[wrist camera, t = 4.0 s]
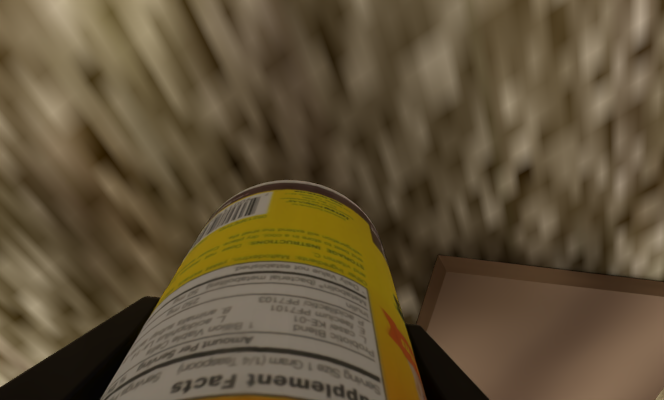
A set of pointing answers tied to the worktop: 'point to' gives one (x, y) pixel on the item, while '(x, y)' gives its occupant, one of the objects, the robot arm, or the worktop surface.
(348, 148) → the worktop surface
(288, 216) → the supplement bottle
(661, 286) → the walnut board
